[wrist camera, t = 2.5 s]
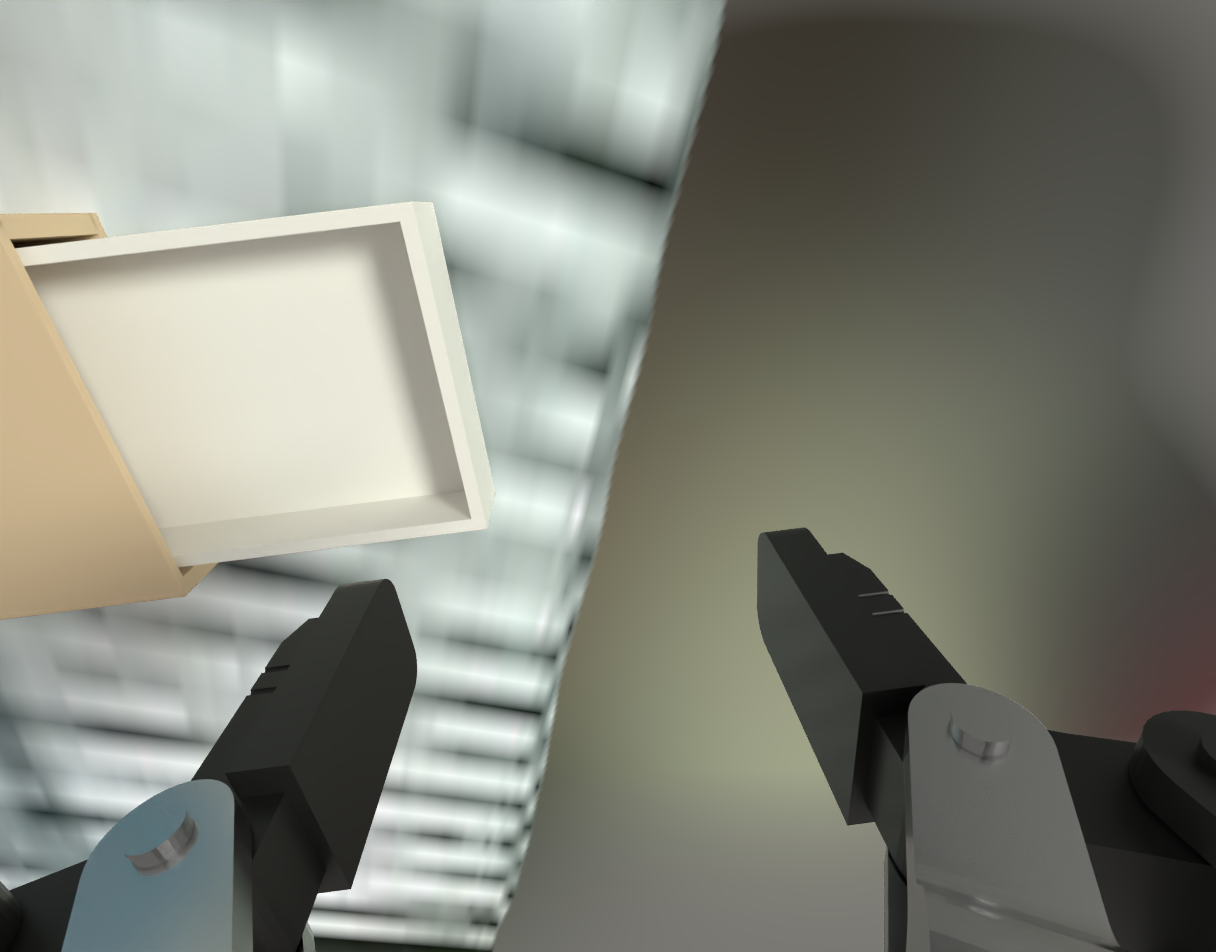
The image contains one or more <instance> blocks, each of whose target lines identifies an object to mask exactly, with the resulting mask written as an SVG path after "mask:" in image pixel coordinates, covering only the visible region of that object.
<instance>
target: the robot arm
mask: <svg viewBox="0 0 1216 952" xmlns="http://www.w3.org/2000/svg"><path fill="white" fill-rule="evenodd" d="M757 571H758V573H757V576H758V577H757V581H758V582H757V610H758V619H759V625H760V630H761V634H762V637H763V640H764V643H765V645H766V647H767V650H768V652H769V654H770V656H771V658H772V661H773V663H774V665H775V667H776V669H777V672H778V674H779V676H780V678H781V680H782V683H783V685H784V687H785V689H786V691H787V693H788V696H789V698H790V700H791V702H792V705H793V706H794V709H795V711H796V713H797V715H798V718H799V720H800V722H801V724H802V726H803V729H804V731H805V733H806V735H807V737H808V740H809V742H810V744H811V746H812V748H813V750H814V753H815V755H816V757H817V759H818V762H819V764H820V766H821V768H822V770H823V773H824V775H825V777H826V779H827V781H828V783H829V786H830V788H831V790H832V792H833V794H834V797H835V799H836V801H837V803H838V806H839V808H840V810H841V812H842V814H843V816H844V819H845V821H846V823H847V825H854V824H862V823H869V822H875V823H876V825H877V827H878V829H879V831H880V833H881V835H882V837H883V839H884V841H885V843H886V851H885V859H884V952H1216V715H1212V714H1206V713H1202V712H1194V711H1169V712H1162V713H1160V714H1157V715H1154V716H1153V717H1151V718H1150V719H1149V720H1147V722H1146V723H1145V725H1144V726H1143V729H1142V732H1141V734H1140V736H1139V739H1138V741H1137V743H1133V742H1125V741H1119V740H1111V739H1103V738H1097V737H1089V736H1082V735H1074V734H1067V733H1061V732H1055V731H1050V730H1047V729H1046V728H1045V727H1044V725H1043V724H1042V723H1041V722H1040V721H1039V720H1038V719H1037V718H1036V717H1035V716H1034V715H1032V714H1031V713H1030V712H1029V711H1028V710H1026V709H1025V708H1023V707H1022V706H1021V705H1019V704H1017V703H1016V702H1014V701H1012V700H1011V699H1009V698H1007V697H1005V696H1003V695H1001V694H998V693H996V692H994V691H991V690H988V689H985V688H982V687H978V686H974V685H968V684H967V683H966V682H965V681H964V680H963V679H962V677H961V676H960V675H959V674H958V673H957V672H956V670H955V669H954V668H953V667H952V666H951V664H950V663H949V662H948V661H947V660H946V658H945V657H944V656H943V655H942V654H941V652H940V651H939V650H938V649H937V648H936V647H935V645H934V644H933V643H932V642H931V641H930V639H929V638H928V637H927V636H926V635H925V634H924V632H923V631H922V630H921V629H920V628H919V626H918V625H917V624H916V623H915V622H914V621H913V619H912V618H911V617H910V616H909V614H908V613H904V611H903V608H902V606H901V605H900V604H899V603H898V601H896V599H895V598H894V597H893V595H889V593H888V590H887V588H886V587H885V586H884V585H883V584H882V582H881V581H880V580H879V579H878V578H877V577H876V576H875V574H874V573H873V572H872V571H871V569H869V568H867V567H866V566H864V565H862V564H861V563H859V562H857V561H856V560H854V559H852V558H851V557H849V556H847V555H845V554H844V553H837V554H829V555H827V553H826V552H825V551H824V549H823V548H822V547H821V545H820V544H819V543H818V541H817V540H816V539H815V538H814V536H813V535H812V533H811V532H810V531H809V530H808V529H807V528H796V529H789V530H780V531H772V532H764V533H761V534H760V535H759V538H758V570H757ZM416 678H417V659H416V653H415V649H414V645H413V642H412V639H411V636H410V633H409V630H408V627H407V623H406V620H405V617H404V614H403V611H402V608H401V605H400V602H399V599H398V595H397V592H396V590H395V587H394V585H393V584H392V582H391V581H390V580H388V579H381V580H373V581H365V582H357V583H349V584H342V585H340V586H339V587H338V588H337V589H336V590H335V592H334V594H333V595H332V597H331V599H330V600H329V602H328V603H327V605H326V607H325V608H324V610H323V612H322V613H321V615H320V617H319V618H312V619H308V620H307V621H306V622H305V623H304V624H303V625H301V626H300V627H299V628H298V629H297V630H296V631H295V632H293V633H292V634H291V635H290V636H289V637H288V638H286V639H285V640H284V641H283V642H282V643H281V645H280V646H279V648H278V649H277V651H276V652H275V654H274V655H273V657H272V658H271V660H270V661H269V663H268V664H267V666H266V667H265V673H261V675H260V677H259V678H258V680H257V681H256V683H255V684H254V686H253V687H252V689H251V695H249V696H246V698H245V699H244V701H243V702H242V704H241V705H240V707H239V708H238V710H237V711H236V713H235V715H234V716H233V718H232V719H231V721H230V722H229V724H228V725H227V727H226V728H225V730H224V731H223V733H222V734H221V736H220V737H219V739H218V740H217V742H216V743H215V745H214V746H213V748H212V749H211V751H210V753H209V754H208V756H207V757H206V759H205V760H204V762H203V763H202V765H201V766H200V768H199V769H198V771H197V772H196V774H195V775H194V777H193V778H192V780H191V781H190V782H186V783H182V784H179V785H177V786H174V787H172V788H169V789H167V790H165V791H163V792H161V793H159V794H157V795H155V796H153V797H152V798H150V799H149V800H147V801H145V802H144V803H142V804H141V805H139V806H138V807H137V808H135V809H134V810H132V811H131V812H130V813H129V814H127V815H126V816H125V817H124V818H123V819H121V820H120V821H119V822H118V823H117V824H116V825H115V826H114V827H113V828H112V829H111V830H110V831H109V832H108V833H107V834H106V835H105V836H104V838H103V839H102V840H101V841H100V842H99V843H98V845H97V846H96V848H95V849H94V850H93V852H92V853H91V855H90V857H89V859H88V860H86V861H83V862H81V863H78V864H76V865H73V866H70V867H68V868H65V869H63V870H60V871H58V872H55V873H53V874H50V875H48V876H45V877H43V878H40V879H38V880H35V881H32V882H30V883H27V884H25V885H22V886H20V887H17V888H15V889H12V890H10V891H9V890H8V889H7V888H6V887H5V886H4V885H3V884H2V883H1V882H0V952H315V945H314V938H313V933H312V930H311V928H310V926H309V924H308V922H307V921H308V918H309V915H310V913H311V910H312V907H313V904H314V902H315V899H316V896H317V893H324V892H332V891H339V890H347V889H351V887H352V884H353V881H354V877H355V874H356V871H357V868H358V865H359V862H360V859H361V855H362V852H363V849H364V846H365V843H366V840H367V837H368V833H369V830H370V827H371V824H372V821H373V818H374V815H375V811H376V808H377V805H378V802H379V799H380V796H381V793H382V789H383V786H384V783H385V780H386V777H387V774H388V771H389V767H390V764H391V761H392V758H393V755H394V752H395V749H396V745H397V742H398V739H399V736H400V733H401V730H402V727H403V723H404V720H405V717H406V714H407V711H408V708H409V704H410V701H411V698H412V695H413V692H414V689H415V685H416Z"/></svg>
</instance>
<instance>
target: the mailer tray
mask: <svg viewBox="0 0 1216 952" xmlns="http://www.w3.org/2000/svg"><path fill="white" fill-rule="evenodd" d="M15 250H16V252H17V254H18V256H19V258H20V260H21V262H22V264H23V266H24V268H25V270H26V271H27V273H28V275H29V277H30V279H31V281H32V283H33V285H34V287H35V289H36V291H37V293H38V295H39V297H40V299H41V301H42V303H43V305H44V307H45V309H46V311H47V312H48V314H49V316H50V318H51V320H52V322H53V324H54V326H55V328H56V330H57V332H58V334H59V336H60V338H61V340H62V342H63V344H64V346H65V348H66V350H67V351H68V353H69V355H70V357H71V359H72V361H73V363H74V365H75V367H76V369H77V371H78V373H79V375H80V377H81V379H82V381H83V383H84V385H85V387H86V389H87V391H88V392H89V394H90V396H91V398H92V400H93V402H94V404H95V406H96V408H97V410H98V412H99V414H100V416H101V418H102V420H103V422H104V424H105V426H106V428H107V430H108V431H109V433H110V435H111V437H112V439H113V441H114V443H115V445H116V447H117V449H118V451H119V453H120V455H121V457H122V459H123V461H124V463H125V465H126V467H127V469H128V471H129V472H130V474H131V476H132V478H133V480H134V482H135V484H136V486H137V488H138V490H139V492H140V494H141V496H142V498H143V500H144V502H145V504H146V506H147V508H148V510H149V511H150V513H151V515H152V517H153V519H154V521H155V523H156V525H157V527H158V529H159V531H160V533H161V535H162V537H163V539H164V541H165V543H166V545H167V547H168V549H169V551H170V552H171V554H172V556H173V558H174V560H175V562H176V564H177V566H178V567H186V566H194V565H202V564H209V563H217V562H225V561H233V560H241V559H249V558H257V557H265V556H273V555H281V554H289V553H297V552H305V551H313V550H321V549H329V548H337V547H345V546H353V545H361V544H369V543H377V542H385V541H393V540H401V539H409V538H417V537H425V536H433V535H440V534H448V533H456V532H464V531H472V530H480V529H487V527H488V523H489V519H490V515H491V511H492V507H493V503H494V499H495V495H496V494H495V490H494V485H493V480H492V476H491V471H490V466H489V462H488V457H487V452H486V448H485V443H484V438H483V434H482V429H481V424H480V420H479V415H478V410H477V406H476V401H475V397H474V392H473V387H472V383H471V378H470V373H469V369H468V364H467V359H466V355H465V350H464V345H463V341H462V336H461V331H460V327H459V322H458V317H457V313H456V308H455V303H454V299H453V294H452V289H451V285H450V280H449V276H448V271H447V266H446V262H445V257H444V252H443V248H442V243H441V238H440V234H439V229H438V224H437V220H436V215H435V210H434V206H433V202H404V203H395V204H387V205H379V206H370V207H362V208H353V209H345V210H336V211H328V212H319V213H311V214H302V215H294V216H285V217H277V218H269V219H260V220H252V221H243V222H235V223H226V224H218V225H209V226H201V227H192V228H184V229H176V230H167V231H159V232H150V233H142V234H133V235H125V236H116V237H108V238H99V239H91V240H82V241H74V242H66V243H57V244H49V245H40V246H32V247H23V248H15Z"/></svg>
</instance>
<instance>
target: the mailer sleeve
mask: <svg viewBox="0 0 1216 952" xmlns="http://www.w3.org/2000/svg"><path fill="white" fill-rule="evenodd" d="M99 238H107V236H106V234H105V232H104V230H103V227H102V225H101V223H100V221H99V219H98V216H97V214H96V213H53V214H0V620H2V619H10V618H18V617H26V616H33V615H41V614H49V613H57V612H65V611H73V610H81V609H89V608H97V607H105V606H113V605H121V604H129V603H136V602H144V601H152V600H160V599H168V598H176V597H184V596H186V595H187V594H188V593H189V592H190V591H191V590H192V589H193V588H194V587H195V586H196V585H197V584H198V583H199V582H200V581H201V580H202V579H203V578H204V577H205V576H206V575H207V574H208V573H209V572H210V571H211V570H212V569H213V568H214V567H215V566H216V565H217V564H218V562H217V563H209V564H202V565H194V566H186V567H178V566H177V564H176V562H175V560H174V558H173V556H172V554H171V552H170V551H169V549H168V547H167V545H166V543H165V541H164V539H163V537H162V535H161V533H160V531H159V529H158V527H157V525H156V523H155V521H154V519H153V517H152V515H151V513H150V511H149V510H148V508H147V506H146V504H145V502H144V500H143V498H142V496H141V494H140V492H139V490H138V488H137V486H136V484H135V482H134V480H133V478H132V476H131V474H130V472H129V471H128V469H127V467H126V465H125V463H124V461H123V459H122V457H121V455H120V453H119V451H118V449H117V447H116V445H115V443H114V441H113V439H112V437H111V435H110V433H109V431H108V430H107V428H106V426H105V424H104V422H103V420H102V418H101V416H100V414H99V412H98V410H97V408H96V406H95V404H94V402H93V400H92V398H91V396H90V394H89V392H88V391H87V389H86V387H85V385H84V383H83V381H82V379H81V377H80V375H79V373H78V371H77V369H76V367H75V365H74V363H73V361H72V359H71V357H70V355H69V353H68V351H67V350H66V348H65V346H64V344H63V342H62V340H61V338H60V336H59V334H58V332H57V330H56V328H55V326H54V324H53V322H52V320H51V318H50V316H49V314H48V312H47V311H46V309H45V307H44V305H43V303H42V301H41V299H40V297H39V295H38V293H37V291H36V289H35V287H34V285H33V283H32V281H31V279H30V277H29V275H28V273H27V271H26V270H25V268H24V266H23V264H22V262H21V260H20V258H19V256H18V254H17V252H16V250H15V248H23V247H32V246H40V245H49V244H57V243H66V242H74V241H82V240H91V239H99Z"/></svg>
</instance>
